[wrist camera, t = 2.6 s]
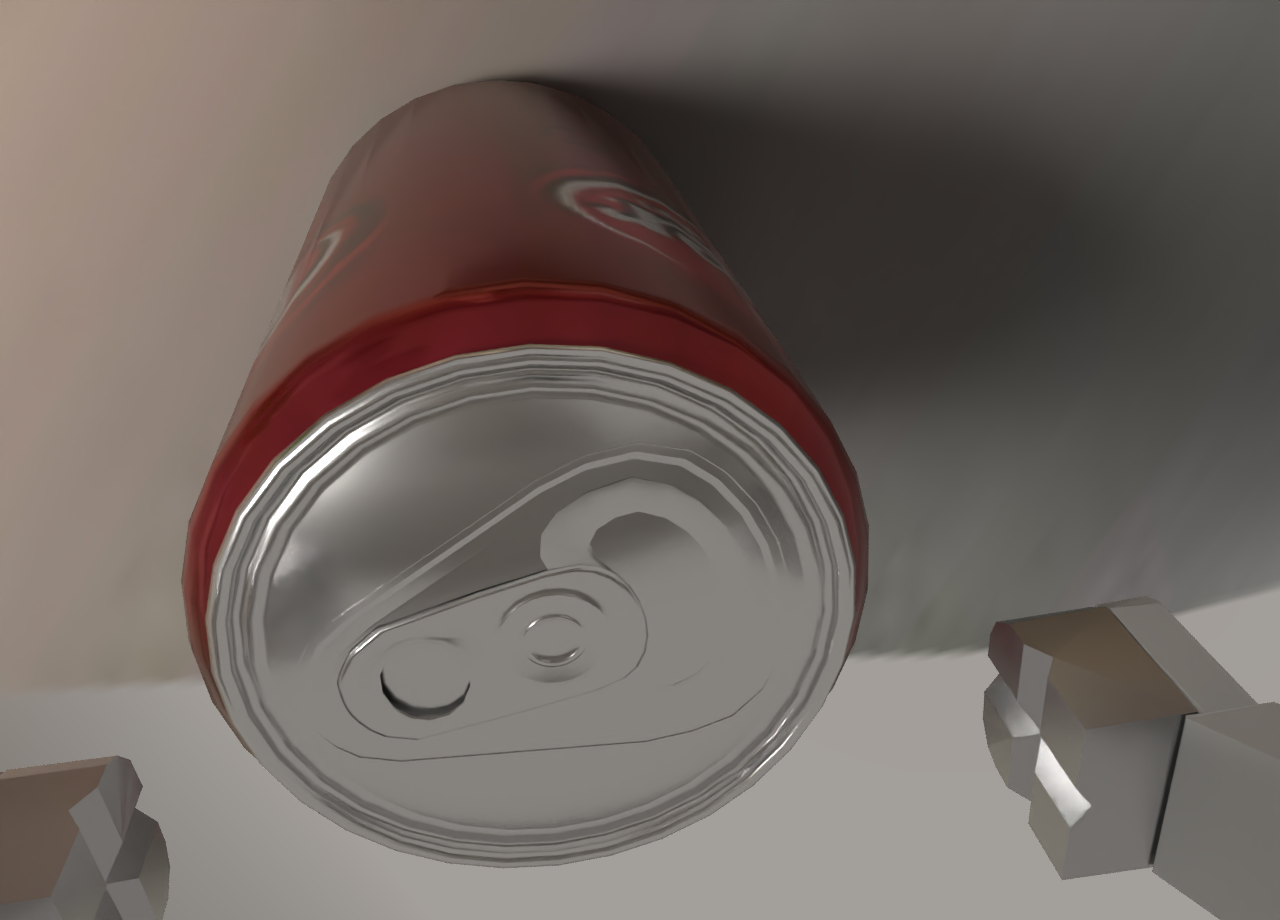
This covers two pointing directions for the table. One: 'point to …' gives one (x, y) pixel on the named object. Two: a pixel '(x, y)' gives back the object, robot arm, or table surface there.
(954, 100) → the table surface
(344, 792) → the soda can
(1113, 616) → the robot arm
